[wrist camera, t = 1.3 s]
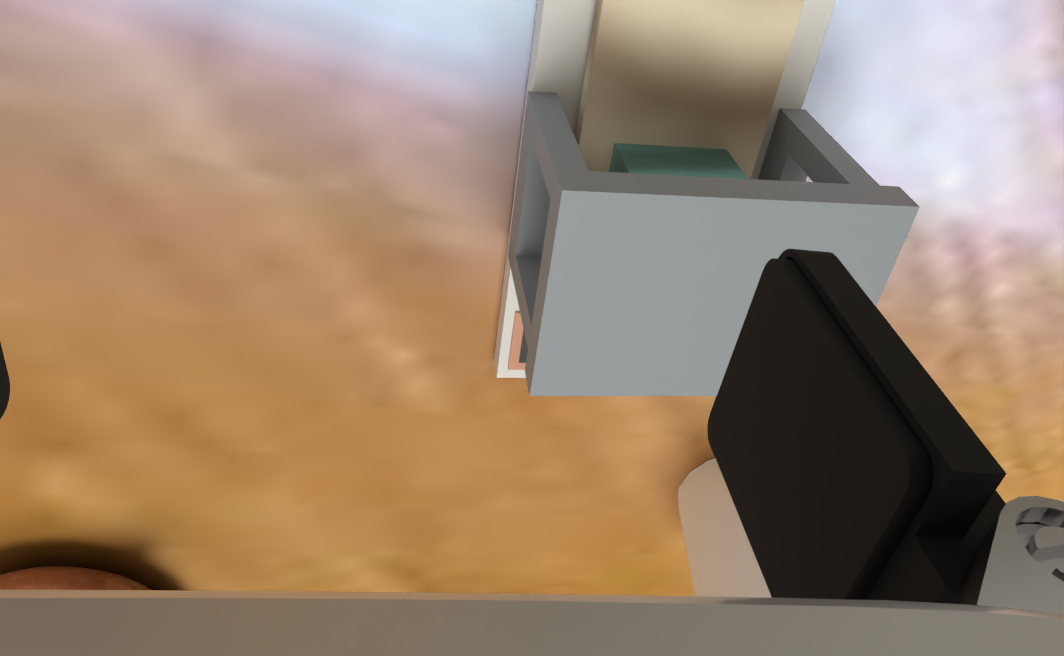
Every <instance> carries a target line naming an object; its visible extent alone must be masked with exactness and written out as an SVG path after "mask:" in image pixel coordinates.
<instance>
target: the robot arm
mask: <svg viewBox="0 0 1064 656" xmlns="http://www.w3.org/2000/svg"><path fill="white" fill-rule="evenodd" d="M9 394H10V382H9V376H8V372H7V368H6V364H5V360H4V355H3V351H2V347H1V343H0V419H1V417H2V416H3V414H4V412H5V410H6V408H7V404H8V401H9ZM708 439H709V443H710V446H711V448H712V451H713V453H714V456H715V458H716V461H717V463H718V466H719V468H720V471H721V473H722V476H723V478H724V481H725V483H726V485H727V488H728V490H729V493H730V495H731V498H732V500H733V503H734V505H735V508H736V510H737V513H738V515H739V518H740V520H741V523H742V525H743V528H744V530H745V533H746V535H747V537H748V540H749V542H750V545H751V547H752V550H753V552H754V555H755V557H756V560H757V562H758V565H759V567H760V570H761V572H762V575H763V577H764V580H765V582H766V585H767V587H768V589H769V592H770V594H771V597H772V598H767V597H704V596H641V595H579V594H501V593H413V592H310V591H183V590H0V656H1064V502H1062V501H1059V500H1054V499H1049V498H1044V497H1039V496H1027V497H1018V498H1016V499H1014V500H1011V501H1009V502H1007V503H1005V502H1004V501H1003V499H1002V498H1001V497H1000V495H999V494H998V493H997V491H996V488H997V487H998V485H999V484H1000V482H1001V481H1002V479H1003V478H1004V476H1005V475H1006V473H1005V471H1004V470H1003V469H1002V468H1001V466H1000V465H999V464H998V462H997V461H996V460H995V459H994V457H993V456H992V455H991V453H990V452H989V451H988V450H987V448H986V447H985V446H984V445H983V443H982V442H981V441H980V439H979V438H978V437H977V436H976V434H975V433H974V432H973V430H972V429H971V428H970V427H969V425H968V424H967V423H966V421H965V420H964V419H963V418H962V416H961V415H960V414H959V413H958V411H957V410H956V409H955V407H954V406H953V405H952V404H951V402H950V401H949V400H948V398H947V397H946V396H945V395H944V393H943V392H942V391H941V389H940V388H939V387H938V386H937V384H936V383H935V382H934V380H933V379H932V378H931V377H930V375H929V374H928V373H927V372H926V370H925V369H924V368H923V366H922V365H921V364H920V363H919V361H918V360H917V359H916V357H915V356H914V355H913V354H912V352H911V351H910V350H909V348H908V347H907V346H906V345H905V343H904V342H903V341H902V340H901V338H900V337H899V336H898V334H897V333H896V332H895V331H894V329H893V328H892V327H891V325H890V324H889V323H888V322H887V320H886V319H885V318H884V316H883V315H882V314H881V313H880V311H879V310H878V309H877V308H876V306H875V305H874V304H873V302H872V301H871V300H870V299H869V297H868V296H867V295H866V293H865V292H864V291H863V290H862V288H861V287H860V286H859V284H858V283H857V282H856V281H855V279H854V278H853V277H852V276H851V274H850V273H849V272H848V270H847V269H846V268H845V267H844V265H843V264H842V263H841V261H840V260H839V259H838V258H837V256H835V255H834V254H833V253H831V252H822V251H811V250H800V249H787V250H785V251H783V252H782V254H781V255H780V256H779V258H778V259H776V258H772V259H770V260H769V261H768V262H767V263H766V265H765V267H764V269H763V272H762V274H761V277H760V280H759V282H758V285H757V288H756V291H755V293H754V296H753V299H752V301H751V304H750V307H749V310H748V312H747V315H746V318H745V320H744V323H743V326H742V329H741V331H740V334H739V337H738V340H737V342H736V345H735V348H734V350H733V353H732V356H731V359H730V361H729V364H728V367H727V369H726V372H725V375H724V378H723V380H722V383H721V386H720V388H719V391H718V394H717V397H716V399H715V402H714V405H713V407H712V410H711V413H710V416H709V420H708Z"/></svg>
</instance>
